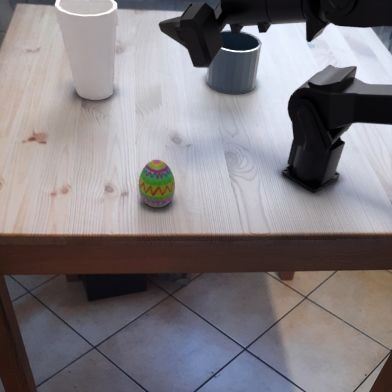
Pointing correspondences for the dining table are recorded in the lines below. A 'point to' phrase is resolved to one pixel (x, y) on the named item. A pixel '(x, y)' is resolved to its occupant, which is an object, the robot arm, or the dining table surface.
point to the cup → (235, 63)
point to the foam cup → (89, 44)
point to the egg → (156, 184)
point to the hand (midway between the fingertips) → (176, 5)
